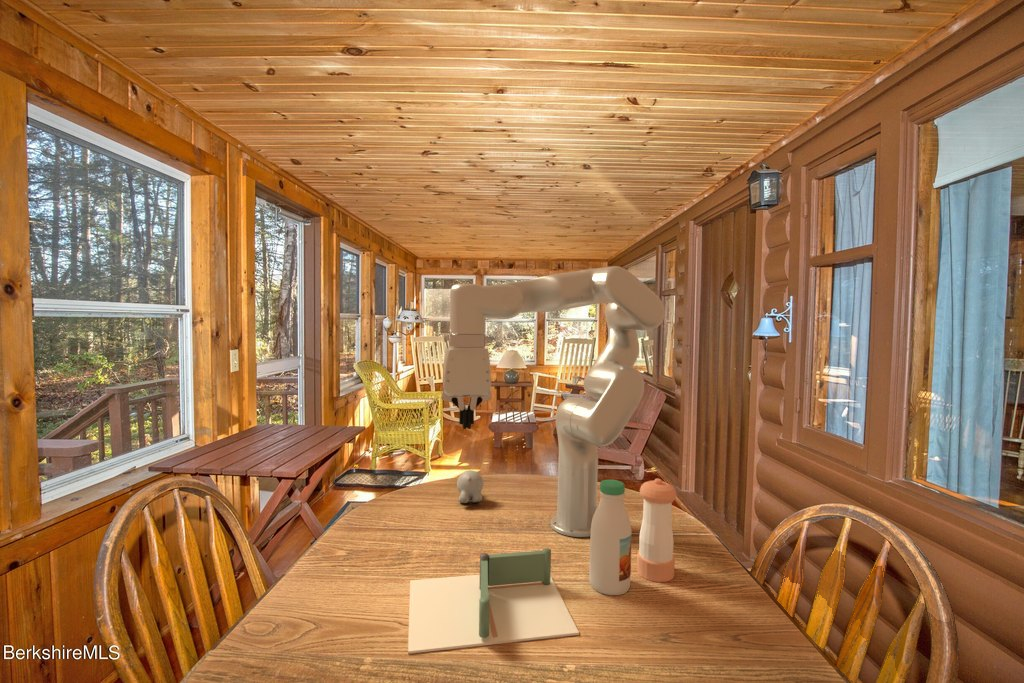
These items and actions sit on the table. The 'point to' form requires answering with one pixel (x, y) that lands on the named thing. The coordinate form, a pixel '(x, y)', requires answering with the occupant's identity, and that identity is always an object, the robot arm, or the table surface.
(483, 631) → the fence panel
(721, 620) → the table surface
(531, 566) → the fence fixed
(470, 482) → the chubby cartoon animal
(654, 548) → the salt shaker
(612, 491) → the milk bottle
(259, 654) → the table surface
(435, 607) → the card
